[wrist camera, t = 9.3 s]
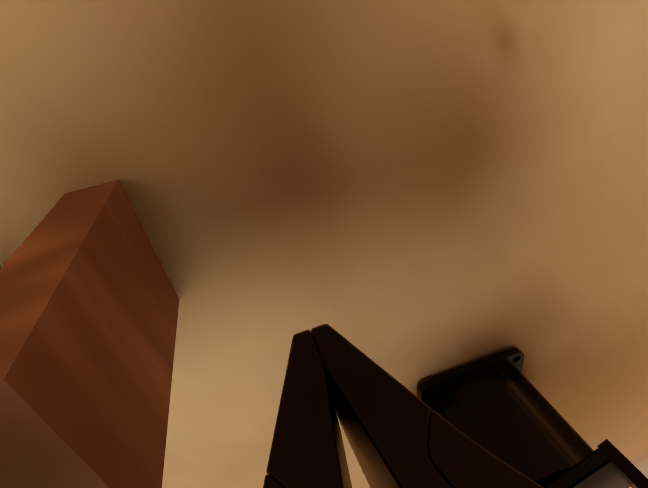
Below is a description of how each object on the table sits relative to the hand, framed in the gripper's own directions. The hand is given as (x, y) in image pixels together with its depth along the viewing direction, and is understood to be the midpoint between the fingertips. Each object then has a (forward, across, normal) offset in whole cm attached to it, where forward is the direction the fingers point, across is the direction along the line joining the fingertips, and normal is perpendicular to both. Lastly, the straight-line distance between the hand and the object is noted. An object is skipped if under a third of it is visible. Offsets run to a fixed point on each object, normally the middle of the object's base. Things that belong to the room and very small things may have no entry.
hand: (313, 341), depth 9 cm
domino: (+6, +5, -1) cm, 8 cm away
